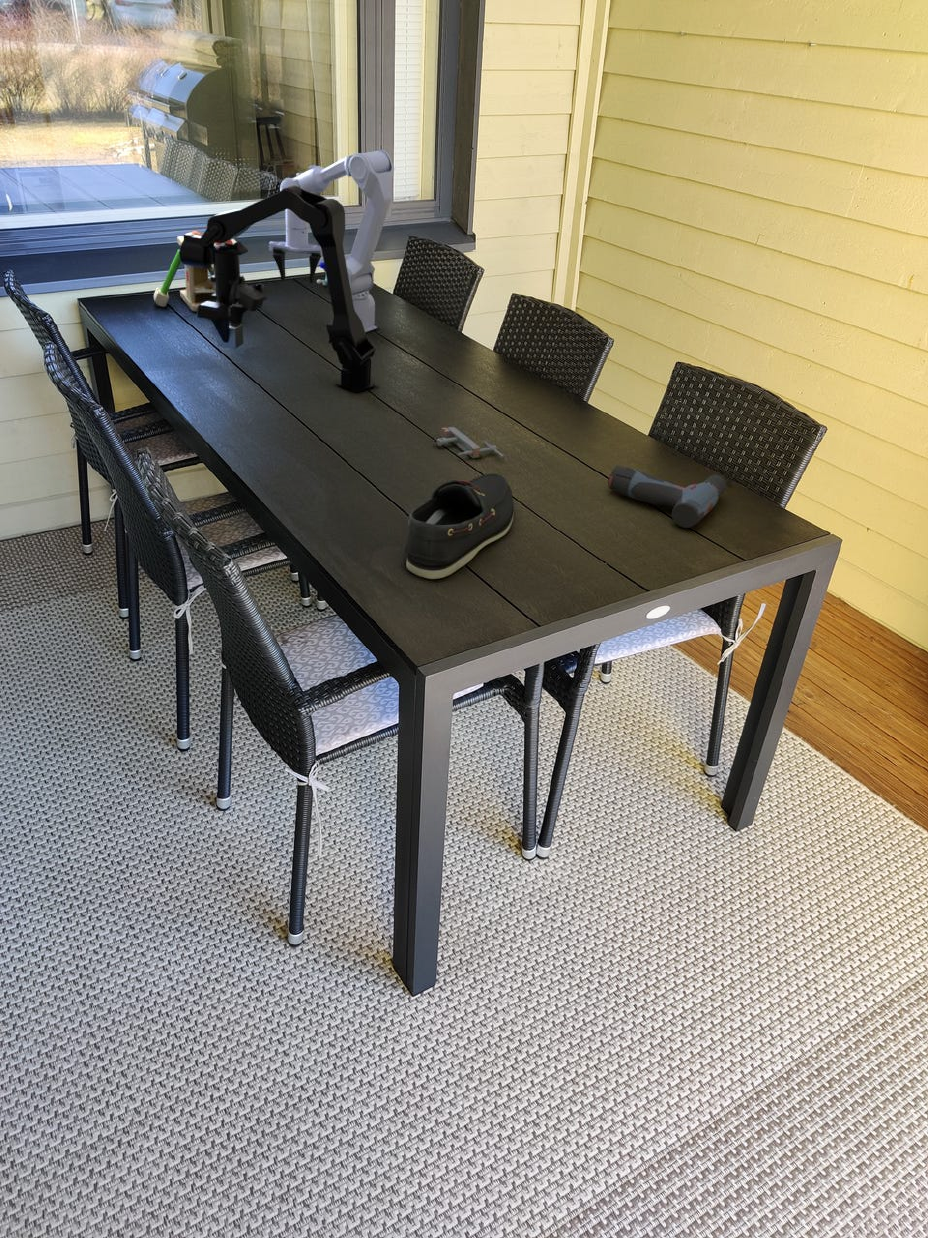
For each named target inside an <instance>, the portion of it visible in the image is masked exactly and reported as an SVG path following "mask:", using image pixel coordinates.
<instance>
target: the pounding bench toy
mask: <svg viewBox="0 0 928 1238" xmlns="http://www.w3.org/2000/svg"><path fill="white" fill-rule="evenodd" d="M189 233H191V234H194V235H197V236H202V235H203V234H202V233H201V232H198V231H196V230H195V231H194V230H193V231H191V232H189ZM183 240H184V235H178V236H177V237H176V241H177V242H176V243H177V244H178V245H179V246H180V247H181V244H182V242H183ZM236 242H237V241H236V240H235V238H234V239H231V240H229V241H226V242H224V243H230V244H234V243H236ZM221 244H222V243H214V245H221ZM179 251H180V248H179V249H177V251H176V254H175V256H174V258H173V260H172V263H171V264H170V267H169V269H168V272H167V274H166V276H165V278H164V281H163V283H162V285H161V288H160V287H156V288H155V291H154V293H153V300H154V303H155V304H156V305H157V306H159V307H162V308H163V307H164V308H165V307H166V306H167V304H168V303H169V300H170V295H169V290H170V287H171V285H172V283H173V281H174V278H175V276H176V274H177V271H178V270H179V267H180V264H181V263H182V262H181V260H180V255H179ZM209 274H210V277H209ZM213 275H214V264H213V265H211V267H210V268H208V269H206V268H201V267H195V266H189V265H184V277H185V278H184V279H185V289H181V290H179V296H180V298H181V299H182V300H183V302H184V303H185V304H186V305H187V306H188V307H189V309H190V310H191V311H192V312H197V309H196V308H197V307H198V306H199V305H200V304H202V303H204V302H206V301H211V302H216V303H218V302H217V300H212V295H213V294H215V282H212V281H211V276H213Z"/></svg>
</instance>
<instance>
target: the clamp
mask: <svg viewBox="0 0 928 1238" xmlns="http://www.w3.org/2000/svg"><path fill="white" fill-rule="evenodd" d="M452 443H453V444H454V445H456V446H457V447H458V448H459V449H460V450H462V451H463V452H458V453H457V456H458V457H460V456H469V457H470V458H472V459H477V458H480V454H482V453H487V452H488V453H496V454H497V455H498V456H499V457H500V459H502V460H504V459H506V457H507V456H506V454H504V453H501V452H500V451H499V450H498V447H497V446H496V445H495V444H494V445H491V444H490V443H489V442H488V441H486V440H485V441H484V442H483V446H484V447H483V448H481V447H480V446H479V444H476V443H475V442H474V441H473V440H471V439H470V438H469V437H468V436H466V435H465V434H464V433H463V432H461V431H460V430H459V429H457V428H456V427H455V426H450V427H441V429H440V437H439V438H436V444H437V445H438V446H439V447H441V446H448V445H449V444H452Z"/></svg>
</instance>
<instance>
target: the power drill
mask: <svg viewBox="0 0 928 1238" xmlns="http://www.w3.org/2000/svg"><path fill="white" fill-rule="evenodd" d="M607 486H608V489H609V490H611V491H614V492H616V493H618V494H620V495H622V496H624V497H628V498H631V499H634V500H635V501H640V502H643V503H647V504H651V505H656V506H668V507H672V511H671V518H672V520H673V521H674V523H675V524H676V525H678V526H679V527H681V528H684V529H690V528H692V527H694V526H696V525H697V524H698V523H700V522H701V520H702V519H703V518H704V517H705V516H706V515H707V514H708V513H709V512H710V511H711V510H712V509H713V508H714V507H715V506H716V505H717V503H718V501H719V499H720V497H721V496H722V495H723V494H724V493H725V491H726V490H727V482H726V480H725V478H724V477H722V475H719V474H712V475H710V476H709V477H707V478H706V479H705V480H704V481H701V482H699V483H694V484H689V485H688V486H687V487H682V486H680V485H678V484H673V483H670V482H668V481H666V480H664V479H662V478H659V477H657V476H655V475H653V474H651V473H648V472H644V471H641V470H638V469H635V468H632V467H631V468H630V467H629V466H627V467H626V466H622V465H616V466H614V467H613V469H612V470H611V471H610V474H609V476H608V480H607Z"/></svg>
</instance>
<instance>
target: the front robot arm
mask: <svg viewBox="0 0 928 1238" xmlns="http://www.w3.org/2000/svg"><path fill="white" fill-rule="evenodd" d="M286 209H289V210H291V211H292V212H293V213H294V214H295V215H297V216H298V217H299V218H300V219H302V220H303V221H305V222H307V223H308V226H309V227H310V230H311V234H312V236H313V238H314V240H315V241H316V242H317V244H318V246H320V247H321V250H322V255H323V256H322V259H323V262H324V265H325V271H326V273H325V276H327V282H328V284H327V287H328V293H329V297H330V302H331V308H332V314H333V316H332V321H330V322H328V323H326V330H327V334H328V344H331V347H332V349H333V351H334V352H335V353H336V356H337V358H338V361H339V364H340V365H341V368H340V381H338V382H337V383H336V385H337V386H339V387H341V388H343V389H346V390H348V391H350V392H352V393H355V394H357V393H358V394H359V393H361V392H363V391H367V390H371V389H373V388H376V384H375V383H373V382H371V381H372V380H371V379H372V377H371V376H372V358H373V357H374V355H375V353H376V351H377V349H376V346H375V345H374V344H373V343H372V342H371V340H370V339H369V338H368V337H367V332H365V330H364V327H363V324H362V321H361V319H360V318H359V316H358V315H357V313H356V312H355V310H354V306H353V300H352V294H351V288H350V283H349V277H348V271H347V266H346V260H347V259H346V255H345V250H344V237H345V233H346V211H345V208H344V206H343V204H342V203H340V202H339V201H338V200H336V199H334V198H326V197H325V196H322V195H320V194H314V193H311V192H308V191H305V190H304V189H302V188H300V187H298V186H290V187H287V188H284V189H282V190H281V191H280V190H279V192H276V193H274V194H272V195H269V196H267V197H266V198H263V199H261V200H259V201H256V202H254V203H252V204H250V205H248V206H246V207H242V208H235V209H234V208H233V209H230V210H226V211H223V212H219V213H218V214H215V215H212V216H210V217H208V219H207V221H206V222H207V223H206V229H205V231H204V232H203V234H201V235H202V236H197V235H194V234H191V233H190V232H188V233H185V234H184V235H183V236H184V240H183V242H182V244H181V246H180V248H179V249H180V251H179V255H180V260H181V262H180V263H182V265H184V266H185V265H189V266H195V267H201V268H206V269H208V268H210V267H211V265H213V264H214V275H210V277H211V281H212V282H215V294H213V295H212V300H217V302H218V303H216V302H211V301H206V302H204V303H202V304H200V305H199V306H198V307H197V308H196V309H197V311H196V317H197V318H199V319H204V320H205V319H206V320H209V321H211V323H212V325H213V326H214V328H215V330H216V332H217V331H218V333H219V335H220V337H221V339H222V340H223V342H225V343H228V340H229V323H230V322H235V323H241V324H242V323H243V318H244V315H245V314H246V312H248V311H249V312H253V313H254V312H256V311H257V310H259V309H262V308H263V303H264V301H266V300H267V298H268V297H267V291H266V290H267V289H266V285H264V284H263V283H262V282H259V283H257V284H255V285H253V284H251V285H249V284H248V283H246V278H245V277H244V275H241V270H240V269H241V268H240V256H242V255H244V254H246V253H248V252H249V250H248V248H247V247H246V246H245V245H244V244H243V243H242V241H240V240H239V241H236V243H234V244H230V243H224V242H226V241H229V240H231V239H234V240H235V239H236V238H238V237H240V236H241V235H242V234H244V233H245V232H246V231H248V230H249V229H250V228H251V227H252V226H253V225H255V224H257V223H258V222H261V221H263V220H266V219H268V218H270V217H272V216H275V215H276V214H277V215H278V214H279V213H282V212H284V211H285V210H286ZM214 243H222V244H221V245H214ZM325 271H324V272H325Z"/></svg>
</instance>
